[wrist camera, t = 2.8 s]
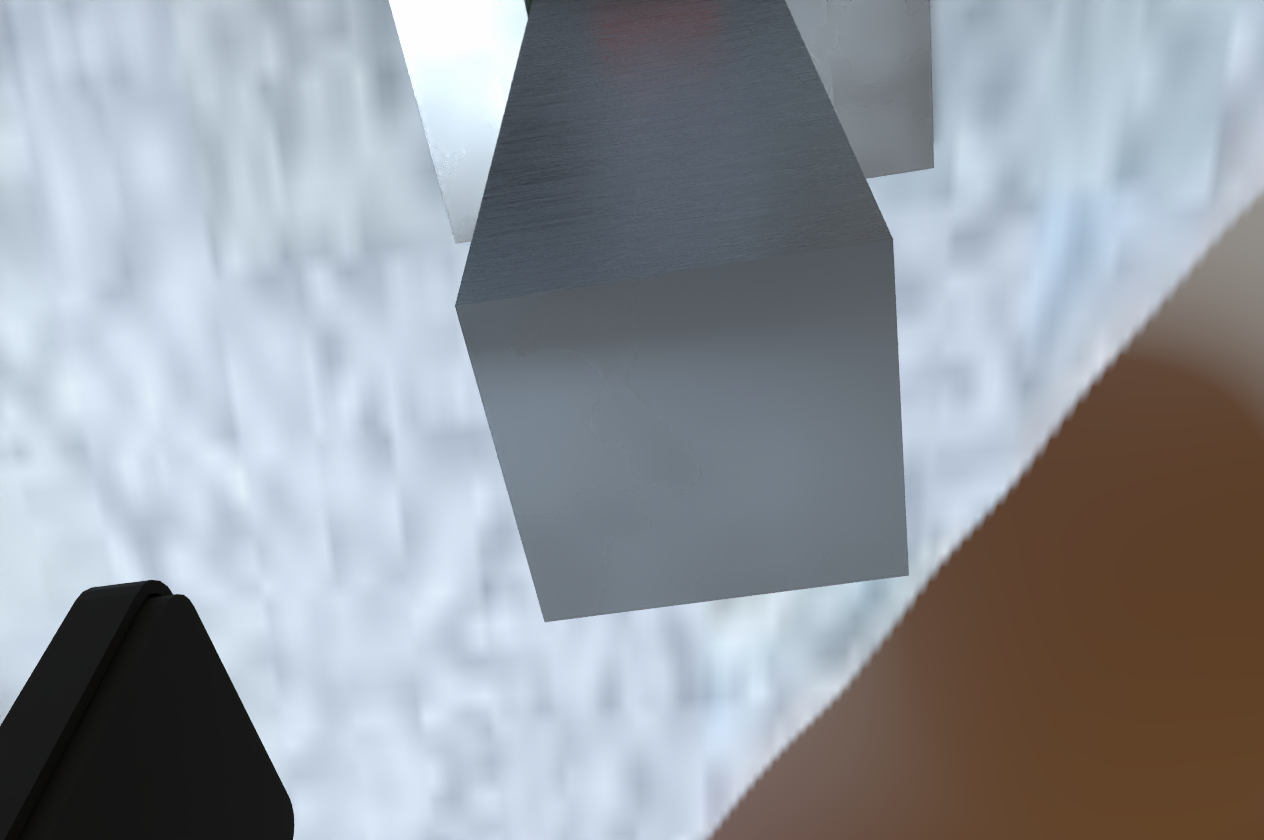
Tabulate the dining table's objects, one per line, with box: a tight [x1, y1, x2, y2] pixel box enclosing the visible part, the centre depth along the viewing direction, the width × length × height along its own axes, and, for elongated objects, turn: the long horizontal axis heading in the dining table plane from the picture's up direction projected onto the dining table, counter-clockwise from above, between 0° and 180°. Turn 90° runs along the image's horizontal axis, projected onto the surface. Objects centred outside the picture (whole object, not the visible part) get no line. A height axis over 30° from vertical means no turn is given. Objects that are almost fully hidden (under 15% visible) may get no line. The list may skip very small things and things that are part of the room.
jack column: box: [455, 0, 909, 622], centre depth 21 cm, size 4×4×22 cm
